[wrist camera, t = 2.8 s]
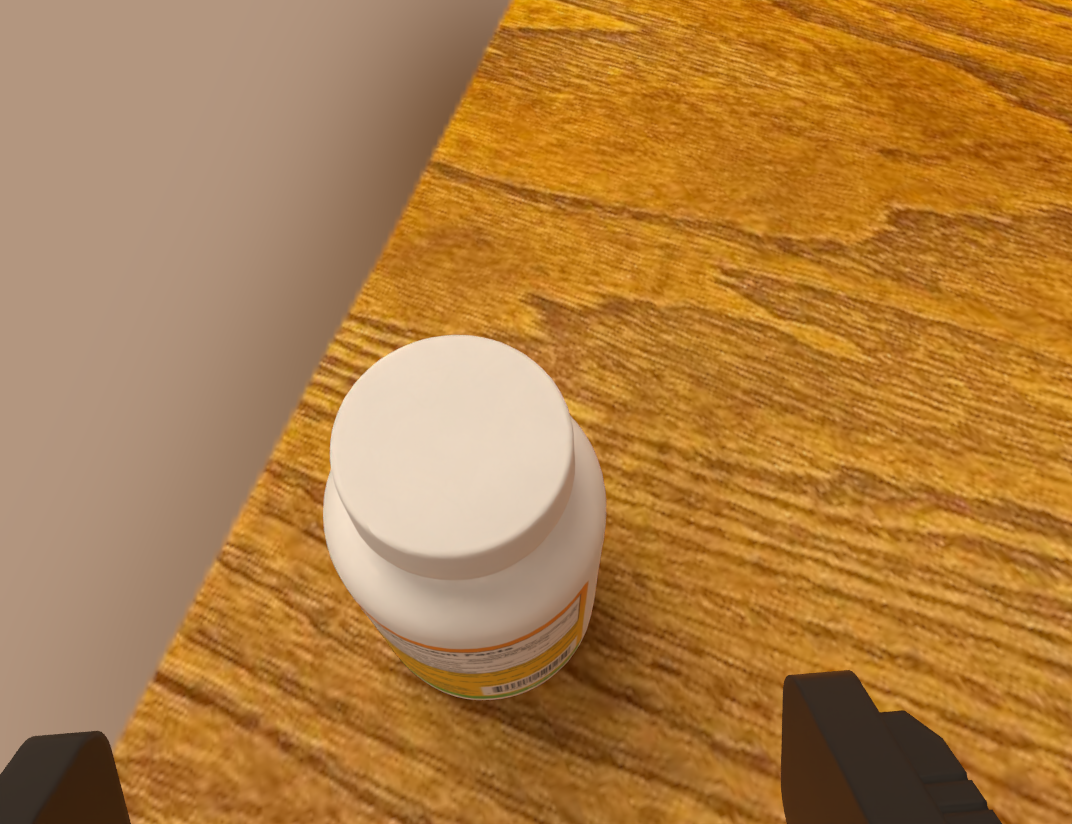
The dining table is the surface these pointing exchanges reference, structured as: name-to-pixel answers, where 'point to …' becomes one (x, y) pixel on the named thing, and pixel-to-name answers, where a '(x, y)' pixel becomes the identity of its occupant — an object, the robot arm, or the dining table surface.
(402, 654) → the supplement bottle
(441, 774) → the dining table surface
